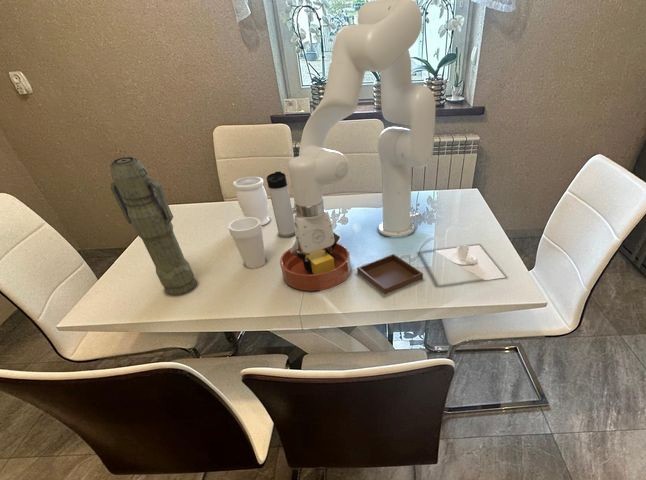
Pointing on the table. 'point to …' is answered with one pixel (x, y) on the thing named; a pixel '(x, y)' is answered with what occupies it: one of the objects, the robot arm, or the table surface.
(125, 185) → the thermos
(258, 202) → the jar
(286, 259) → the terracotta plant saucer
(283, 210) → the travel mug
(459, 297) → the table surface
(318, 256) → the sponge
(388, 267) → the tray
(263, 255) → the foam cup
